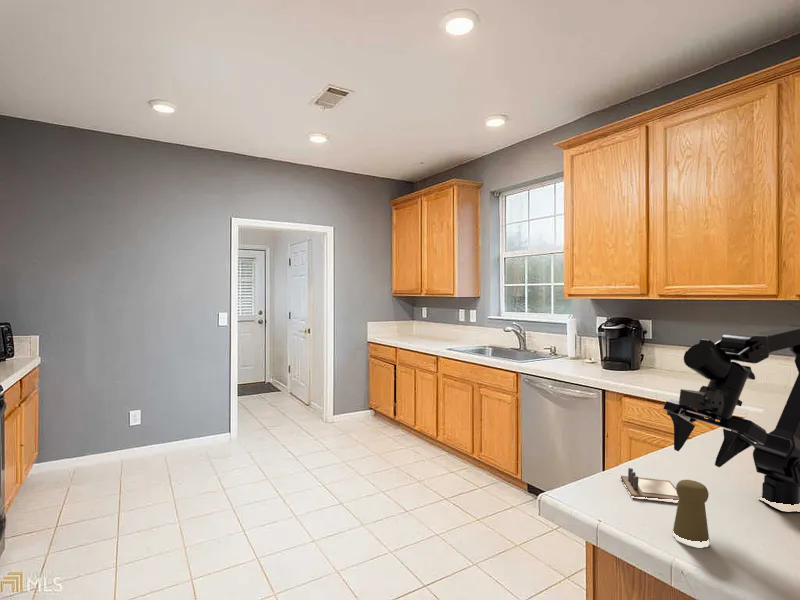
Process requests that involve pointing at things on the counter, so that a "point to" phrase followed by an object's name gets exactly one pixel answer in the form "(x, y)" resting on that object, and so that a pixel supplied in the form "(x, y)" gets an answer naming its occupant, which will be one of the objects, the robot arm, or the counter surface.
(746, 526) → the counter surface
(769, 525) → the counter surface
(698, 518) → the cork
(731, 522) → the counter surface
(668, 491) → the pin board
